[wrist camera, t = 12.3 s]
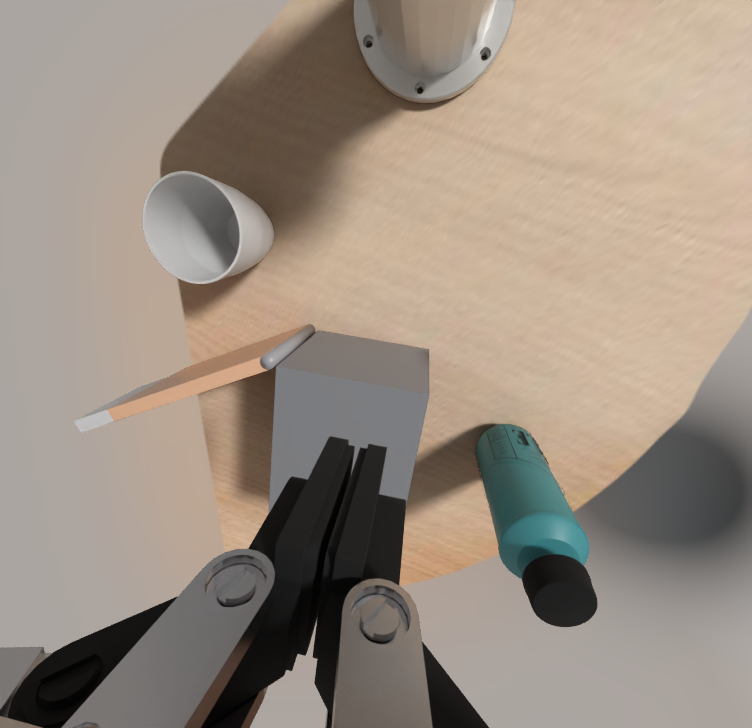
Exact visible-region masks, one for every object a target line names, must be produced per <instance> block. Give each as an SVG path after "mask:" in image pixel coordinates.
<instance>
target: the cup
mask: <svg viewBox="0 0 752 728" xmlns="http://www.w3.org/2000/svg"><path fill="white" fill-rule="evenodd" d="M142 223H143V230H144V235H145V238H146V241H147V244H148V246H149V248H150V250H151V252H152V254H153V255H154V257H155V258H156V260H157V261H158V262H159V263H160V264H161V266H162V267H163V268H164V269H165V270H167V271H168V272H169V273H170V274H172V275H174V276H175V277H177V278H179V279H181V280H183V281H186V282H189V283H195V284H206V283H211V282H214V281H218V280H221V279H224V278H227V277H231V276H234V275H237V274H240V273H242V272H244V271H245V270H247V269H249V268H250V267H252V266H254V265H255V264H257V263H259V262H260V261H261V260H262V259H263V258H264V257H265V256H266V254H267V253H268V251H269V250H270V248H271V247H272V244H273V241H274V229H273V225H272V223H271V221H270V219H269V217H268V216H267V215H266V213H265V212H264V211H263V209H262V208H261V207H260V206H259V205H258V204H257V203H256V202H255V201H253V200H252V199H250V198H249V197H247V196H246V195H244V194H243V193H241V192H240V191H238V190H237V189H235V188H233V187H231V186H229V185H226V184H224V183H221V182H219V181H216V180H214V179H212V178H209V177H207V176H204V175H202V174H199V173H196V172H191V171H177V172H173V173H170V174H167V175H165V176H164V177H162V178H161V179H159V180H158V181H157V182H156V183H155V184H154V185H153V186H152V188H151V189H150V191H149V192H148V194H147V197H146V199H145V202H144V207H143V214H142Z"/></svg>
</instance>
